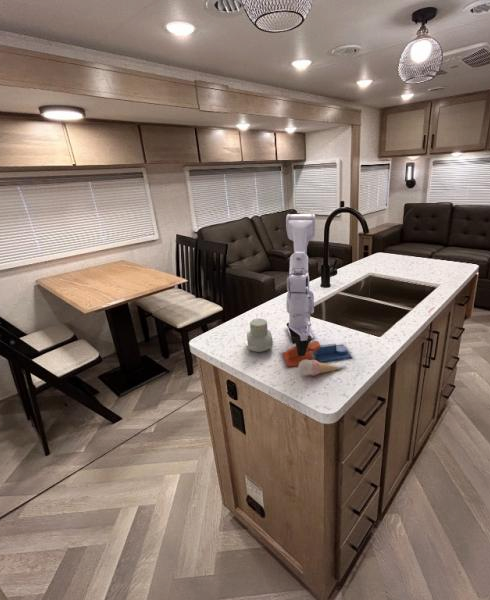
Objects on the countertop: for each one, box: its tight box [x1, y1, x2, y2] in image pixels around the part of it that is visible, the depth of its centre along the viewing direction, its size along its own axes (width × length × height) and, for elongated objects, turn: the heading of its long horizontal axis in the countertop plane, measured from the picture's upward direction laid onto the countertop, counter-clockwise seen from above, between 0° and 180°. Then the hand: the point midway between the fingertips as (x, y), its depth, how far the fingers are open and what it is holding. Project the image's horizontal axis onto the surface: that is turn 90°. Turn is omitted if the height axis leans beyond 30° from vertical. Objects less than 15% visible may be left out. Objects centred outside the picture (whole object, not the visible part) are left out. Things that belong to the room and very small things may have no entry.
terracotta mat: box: [282, 351, 315, 368], centre depth 106 cm, size 8×9×1 cm
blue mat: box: [313, 344, 352, 363], centre depth 108 cm, size 8×11×1 cm
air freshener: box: [246, 318, 274, 353], centre depth 111 cm, size 11×8×10 cm
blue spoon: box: [314, 343, 348, 356], centre depth 107 cm, size 11×4×3 cm, turn 101°
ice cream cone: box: [297, 359, 343, 376], centre depth 98 cm, size 5×5×15 cm
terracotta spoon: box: [286, 340, 321, 359], centre depth 105 cm, size 11×4×3 cm, turn 101°
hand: (298, 349), depth 104 cm, fingers open, 7 cm apart
